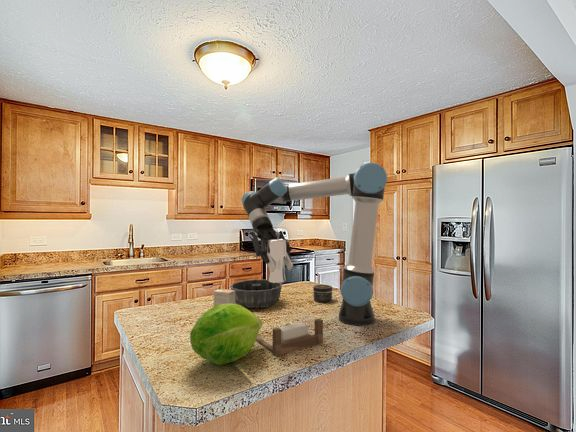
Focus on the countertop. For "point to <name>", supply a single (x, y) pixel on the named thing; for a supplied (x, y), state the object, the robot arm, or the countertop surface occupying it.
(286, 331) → the offcut upper
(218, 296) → the supplement box
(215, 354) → the lettuce
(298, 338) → the offcut lower
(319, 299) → the jar
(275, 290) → the bundt pan
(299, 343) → the rack
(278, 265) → the beer glass
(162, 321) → the countertop surface
